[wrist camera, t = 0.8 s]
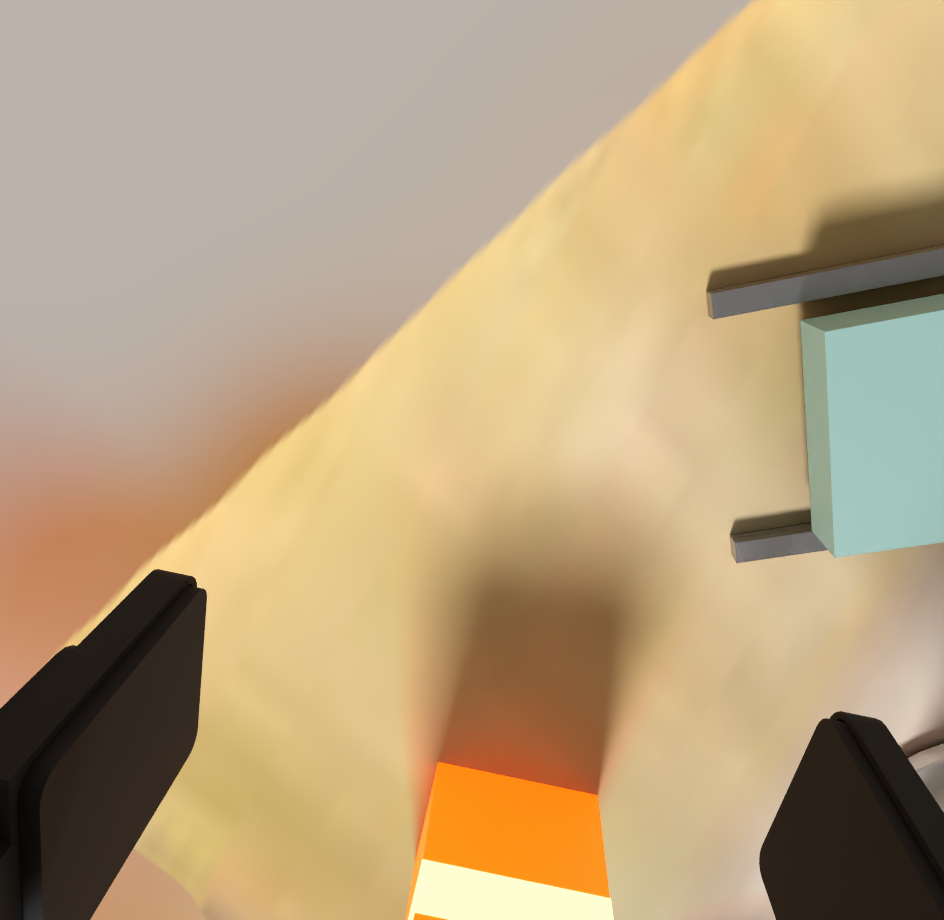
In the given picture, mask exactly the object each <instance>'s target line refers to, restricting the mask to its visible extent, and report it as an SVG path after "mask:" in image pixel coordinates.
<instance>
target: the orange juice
mask: <svg viewBox="0 0 944 920" xmlns="http://www.w3.org/2000/svg"><path fill="white" fill-rule="evenodd" d="M405 920H614V919H613V911H612V903H611V898H610V896H609V887H608V879H607V870H606V862H605V853H604V845H603V836H602V828H601V819H600V811H599V802H598V795H594V794H589V793H585V792H580V791H575V790H570V789H566V788H561V787H556V786H551V785H546V784H542V783H537V782H532V781H527V780H523V779H518V778H513V777H508V776H503V775H499V774H494V773H489V772H484V771H480V770H475V769H470V768H465V767H460V766H456V765H451V764H446V763H441V762H438V765H437V769H436V773H435V778H434V782H433V786H432V791H431V795H430V799H429V804H428V808H427V812H426V817H425V821H424V825H423V830H422V834H421V838H420V842H419V847H418V851H417V855H416V860H415V865H414V871H413V877H412V883H411V889H410V895H409V901H408V907H407V913H406V919H405Z"/></svg>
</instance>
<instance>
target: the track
mask: <svg viewBox="0 0 944 920" xmlns="http://www.w3.org/2000/svg"><path fill="white" fill-rule="evenodd" d="M943 275H944V245H940V246H935V247H930V248H925V249H920V250H914V251H909V252H904V253H899V254H894V255H889V256H884V257H879V258H874V259H868V260H863V261H858V262H853V263H848V264H843V265H838V266H833V267H828V268H822V269H817V270H812V271H807V272H802V273H797V274H792V275H787V276H782V277H776V278H771V279H766V280H761V281H756V282H751V283H746V284H741V285H736V286H730V287H725V288H720V289H715V290H710V291H706V294H707V304H708V315H709V317H711V318H712V319H717V318H722V317H728V316H733V315H738V314H743V313H749V312H754V311H759V310H764V309H770V308H775V307H780V306H785V305H791V304H796V303H801V302H806V301H812V300H817V299H822V298H828V297H833V296H838V295H843V294H849V293H854V292H859V291H864V290H870V289H875V288H880V287H885V286H891V285H896V284H901V283H906V282H912V281H917V280H922V279H927V278H933V277H938V276H943ZM730 541H731V551H732V556H733V557H734V559H735V561H736V563H741V562H748V561H754V560H761V559H768V558H775V557H782V556H789V555H796V554H803V553H810V552H817V551H824V550H828V549H827V548H826V547H825V546H824V544H823V543H822V542H821V541H820V540H819V538H818V537H817V536H816V535H815V534H814V533H813V531H812V524H811V523H807V524H801V525H794V526H787V527H781V528H774V529H767V530H761V531H754V532H747V533H741V534H734V535H730Z"/></svg>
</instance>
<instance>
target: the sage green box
mask: <svg viewBox="0 0 944 920" xmlns="http://www.w3.org/2000/svg"><path fill="white" fill-rule="evenodd" d="M800 324H801V342H802V360H803V378H804V397H805V415H806V433H807V451H808V469H809V488H810V506H811V524H812V531H813V533H814V534H815V535H816V536H817V537H818V538H819V540H820V541H821V542H822V543H823V544H824V546H825V547H826V548H827V549H828V550H829V552H830V553H831V554H832V555H833V556H834V558H836V557H843V556H850V555H857V554H864V553H871V552H878V551H885V550H892V549H899V548H906V547H913V546H920V545H927V544H934V543H941V542H944V294H938V295H933V296H928V297H922V298H917V299H912V300H906V301H901V302H896V303H890V304H885V305H880V306H874V307H869V308H864V309H858V310H853V311H848V312H842V313H837V314H831V315H826V316H821V317H815V318H810V319H805V320H800Z"/></svg>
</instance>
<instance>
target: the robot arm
mask: <svg viewBox="0 0 944 920" xmlns="http://www.w3.org/2000/svg"><path fill="white" fill-rule="evenodd" d="M206 602H207V594H206V590H205V589H202V588H197V583H196V579H195V578H194V577H192V576H188V575H183V574H178V573H173V572H168V571H164V570H159V569H157V570H154V571H152V572H151V573H150V574H149V575H148V576H147V577H146V578H145V579H144V580H143V581H142V582H141V583H140V584H139V585H138V586H137V587H136V588H135V589H134V590H133V591H132V592H131V593H130V594H129V595H128V596H127V597H126V598H125V599H124V600H123V601H122V602H121V603H120V604H119V605H118V606H117V607H116V608H115V609H114V610H113V611H112V612H111V613H110V614H109V615H108V616H107V617H106V618H105V619H104V620H103V621H102V622H101V623H100V624H99V625H98V626H97V627H96V628H95V629H94V630H93V631H92V632H91V633H90V634H89V635H88V636H87V637H86V638H85V639H84V640H83V641H82V642H81V643H80V644H79V645H78V646H74V645H72V646H68V647H65V648H64V649H62V650H61V651H60V652H58V653H57V654H56V655H55V656H54V657H53V658H52V659H51V660H50V661H49V662H48V663H47V664H46V665H45V666H44V667H43V668H42V669H41V670H40V671H39V672H37V674H36V675H35V676H33V678H31V679H30V680H29V681H28V682H27V683H26V684H25V685H24V686H23V687H22V688H21V689H20V690H19V691H18V692H17V693H16V694H15V695H14V696H13V697H12V698H11V699H10V700H9V701H8V702H7V703H6V704H5V705H4V706H3V707H2V708H1V709H0V920H90V919H91V917H92V916H93V914H94V912H95V911H96V909H97V907H98V906H99V904H100V902H101V901H102V899H103V897H104V896H105V894H106V892H107V891H108V889H109V887H110V886H111V884H112V882H113V881H114V879H115V878H116V876H117V874H118V873H119V871H120V869H121V867H122V866H123V864H124V863H125V861H126V859H127V858H128V856H129V854H130V853H131V851H132V849H133V848H134V846H135V844H136V843H137V841H138V839H139V838H140V836H141V835H142V833H143V831H144V830H145V828H146V826H147V825H148V823H149V821H150V820H151V818H152V816H153V815H154V813H155V811H156V810H157V808H158V806H159V805H160V803H161V801H162V800H163V798H164V796H165V795H166V793H167V791H168V790H169V788H170V786H171V785H172V783H173V782H174V780H175V778H176V777H177V775H178V773H179V772H180V770H181V768H182V767H183V765H184V763H185V762H186V760H187V758H188V757H189V755H190V753H191V751H192V748H193V746H194V743H195V740H196V736H197V730H198V717H199V703H200V688H201V674H202V659H203V645H204V631H205V616H206ZM759 865H760V872H761V876H762V879H763V882H764V885H765V888H766V891H767V894H768V897H769V900H770V903H771V906H772V909H773V912H774V914H775V917H776V920H944V743H943V744H940V745H937V746H935V747H932V748H929V749H926V750H924V751H921V752H918V753H916V754H915V755H913V756H911V757H909V758H907V757H906V755H905V754H904V752H903V751H902V749H901V748H900V746H899V745H898V743H897V742H896V740H895V739H894V737H893V736H892V734H891V733H890V731H889V730H888V729H887V727H886V726H885V725H884V723H883V722H882V721H880V720H878V719H875V718H870V717H866V716H861V715H856V714H851V713H846V712H842V711H840V712H836V713H834V714H833V715H832V716H831V717H830V719H827V718H826V719H822V720H821V721H820V722H819V724H818V725H817V727H816V729H815V731H814V734H813V736H812V738H811V740H810V742H809V745H808V747H807V749H806V751H805V753H804V755H803V758H802V760H801V762H800V764H799V766H798V769H797V771H796V773H795V775H794V777H793V779H792V782H791V784H790V786H789V788H788V790H787V793H786V795H785V797H784V799H783V801H782V804H781V806H780V808H779V810H778V812H777V814H776V817H775V819H774V821H773V823H772V825H771V828H770V830H769V832H768V834H767V836H766V838H765V841H764V843H763V845H762V848H761V851H760V859H759Z"/></svg>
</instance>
